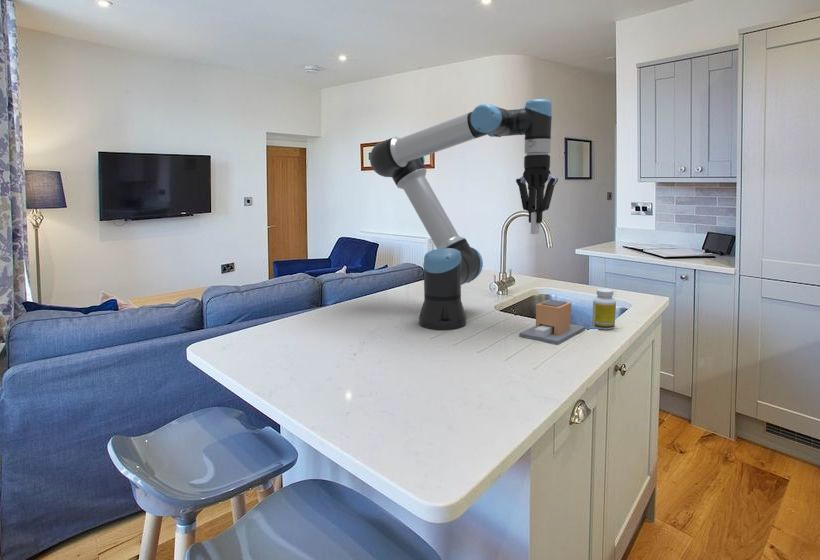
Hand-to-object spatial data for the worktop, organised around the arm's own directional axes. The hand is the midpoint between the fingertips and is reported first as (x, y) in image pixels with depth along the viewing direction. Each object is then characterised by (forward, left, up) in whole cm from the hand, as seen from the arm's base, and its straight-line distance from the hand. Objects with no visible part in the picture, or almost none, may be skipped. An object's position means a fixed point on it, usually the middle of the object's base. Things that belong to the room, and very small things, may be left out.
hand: (534, 233), depth 154 cm
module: (+10, -6, -27) cm, 30 cm away
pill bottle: (+19, +9, -29) cm, 36 cm away
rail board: (+10, -6, -28) cm, 31 cm away
